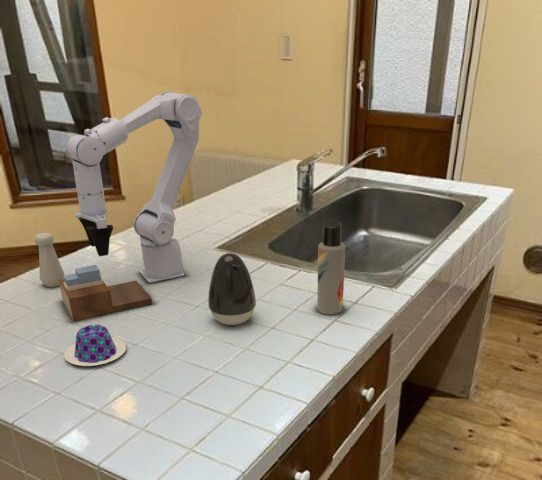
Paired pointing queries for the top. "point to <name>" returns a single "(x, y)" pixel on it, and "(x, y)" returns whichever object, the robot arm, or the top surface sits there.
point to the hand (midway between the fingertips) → (99, 250)
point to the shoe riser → (103, 299)
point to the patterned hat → (94, 347)
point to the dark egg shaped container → (231, 291)
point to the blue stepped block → (83, 278)
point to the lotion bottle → (331, 269)
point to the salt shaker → (48, 261)
